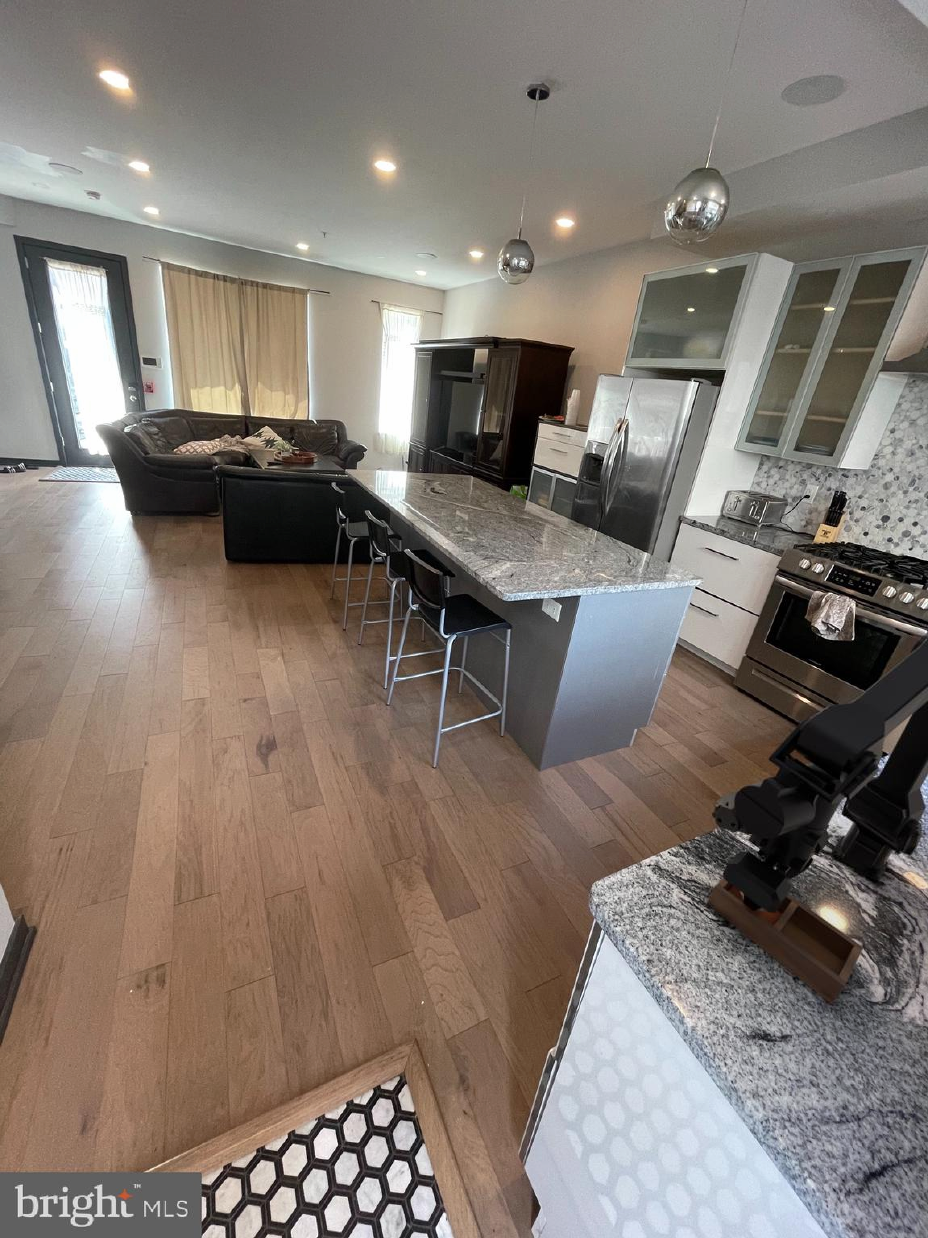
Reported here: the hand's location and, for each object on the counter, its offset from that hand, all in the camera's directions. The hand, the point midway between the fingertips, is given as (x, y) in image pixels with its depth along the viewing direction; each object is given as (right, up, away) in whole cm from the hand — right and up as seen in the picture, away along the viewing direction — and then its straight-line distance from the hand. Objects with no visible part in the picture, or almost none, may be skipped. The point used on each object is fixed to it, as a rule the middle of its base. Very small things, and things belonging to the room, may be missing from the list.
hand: (755, 899), depth 68 cm
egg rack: (+2, -4, -2) cm, 4 cm away
